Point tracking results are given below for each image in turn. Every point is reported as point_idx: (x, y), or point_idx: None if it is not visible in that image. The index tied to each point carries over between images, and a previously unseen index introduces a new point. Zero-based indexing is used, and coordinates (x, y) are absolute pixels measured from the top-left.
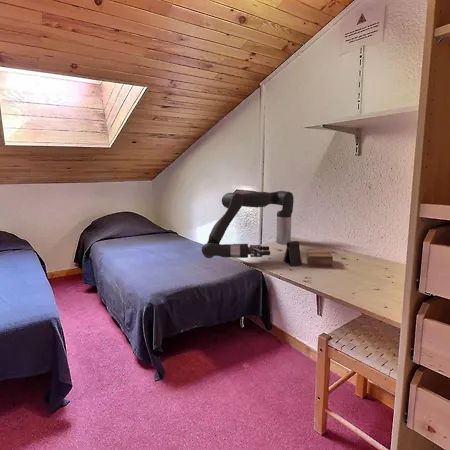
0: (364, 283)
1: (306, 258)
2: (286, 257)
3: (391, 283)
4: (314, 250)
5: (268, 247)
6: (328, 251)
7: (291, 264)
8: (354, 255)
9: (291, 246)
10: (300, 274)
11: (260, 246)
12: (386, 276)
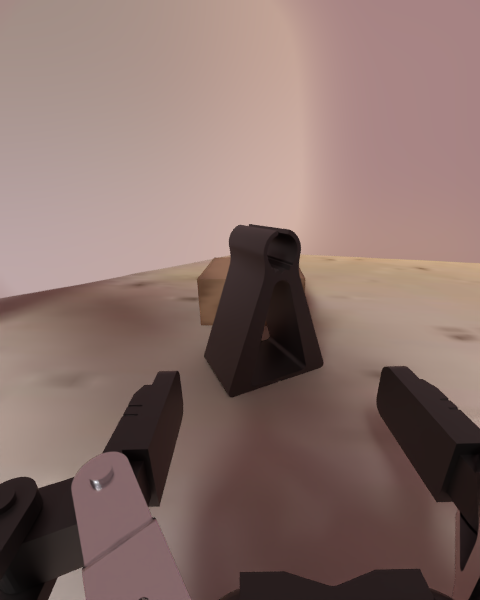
0: (396, 273)
1: (213, 316)
2: (254, 352)
3: (366, 260)
4: (215, 270)
5: (176, 382)
6: (230, 258)
7: (316, 359)
8: (183, 269)
9: (290, 255)
10: (434, 348)
11: (126, 487)
12: (327, 260)
